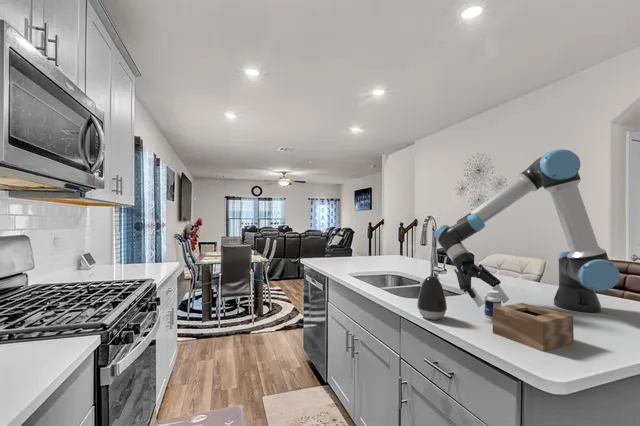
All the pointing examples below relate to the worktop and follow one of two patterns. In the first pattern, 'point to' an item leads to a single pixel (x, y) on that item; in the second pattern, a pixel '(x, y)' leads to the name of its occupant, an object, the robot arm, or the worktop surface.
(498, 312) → the drop box
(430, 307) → the dark grey egg speaker
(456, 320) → the worktop surface
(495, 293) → the pill bottle
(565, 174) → the robot arm
